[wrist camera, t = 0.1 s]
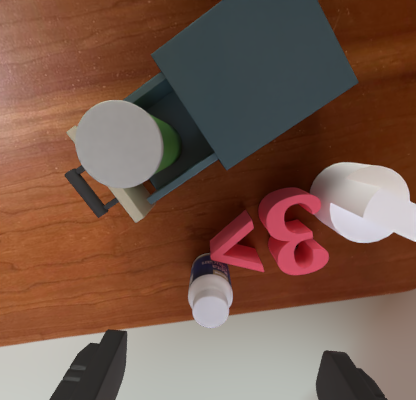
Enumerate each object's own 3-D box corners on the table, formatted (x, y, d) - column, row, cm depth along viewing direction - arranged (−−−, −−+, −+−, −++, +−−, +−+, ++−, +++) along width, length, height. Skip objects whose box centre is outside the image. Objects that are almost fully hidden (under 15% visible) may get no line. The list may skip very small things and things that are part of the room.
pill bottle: (230, 253, 36) (238, 292, 27) (226, 286, 37) (233, 335, 28) (192, 250, 36) (187, 288, 26) (190, 284, 37) (184, 332, 28)
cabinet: (221, 164, 33) (226, 170, 25) (165, 78, 31) (150, 54, 23) (318, 98, 32) (358, 82, 23) (267, 3, 29) (291, -53, 21)
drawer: (124, 224, 34) (104, 243, 28) (69, 153, 32) (33, 156, 26) (234, 150, 32) (241, 152, 26) (183, 69, 30) (176, 48, 23)
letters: (218, 273, 37) (219, 292, 32) (201, 207, 35) (200, 217, 30) (314, 251, 36) (330, 268, 31) (303, 183, 34) (319, 190, 29)
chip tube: (128, 138, 31) (56, 133, 16) (165, 112, 30) (125, 80, 15) (155, 176, 32) (111, 204, 17) (192, 151, 31) (178, 157, 16)
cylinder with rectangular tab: (297, 211, 35) (342, 245, 23) (329, 151, 33) (397, 154, 21) (353, 236, 36) (424, 281, 24) (388, 178, 34) (483, 196, 22)
